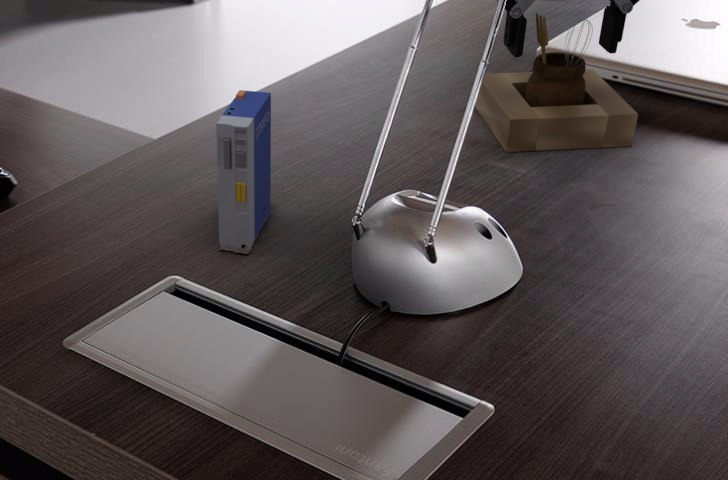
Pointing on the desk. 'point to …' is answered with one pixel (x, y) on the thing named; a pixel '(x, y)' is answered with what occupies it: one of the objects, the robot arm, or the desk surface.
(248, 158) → the blue grey plc module
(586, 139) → the socket pad
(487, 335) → the desk surface
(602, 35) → the robot arm
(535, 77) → the utensil holder
